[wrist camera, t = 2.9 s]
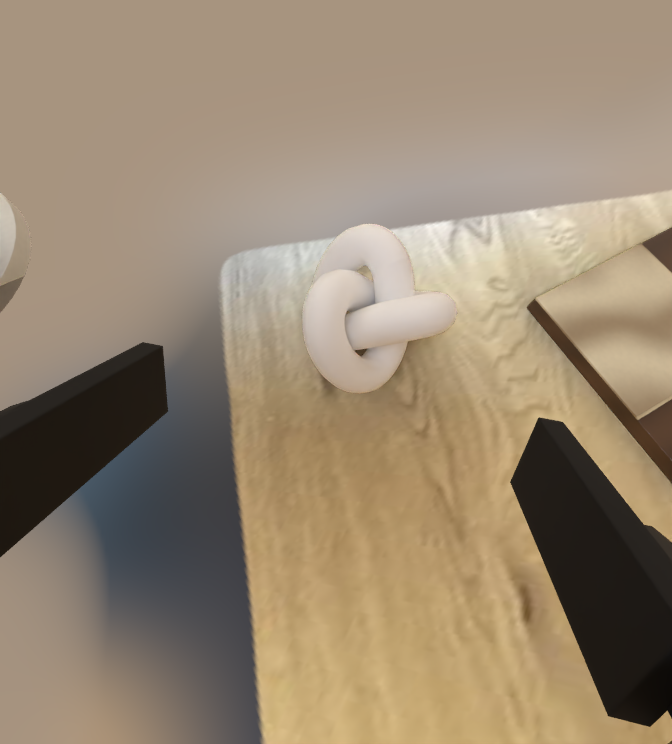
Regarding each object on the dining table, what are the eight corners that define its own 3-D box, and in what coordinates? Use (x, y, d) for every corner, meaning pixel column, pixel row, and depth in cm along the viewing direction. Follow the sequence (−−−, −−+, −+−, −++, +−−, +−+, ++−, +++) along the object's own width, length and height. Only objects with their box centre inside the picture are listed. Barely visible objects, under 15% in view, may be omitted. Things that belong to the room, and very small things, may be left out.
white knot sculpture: (394, 432, 29) (416, 403, 21) (270, 365, 31) (244, 313, 23) (450, 323, 32) (488, 260, 24) (334, 269, 34) (332, 193, 26)
